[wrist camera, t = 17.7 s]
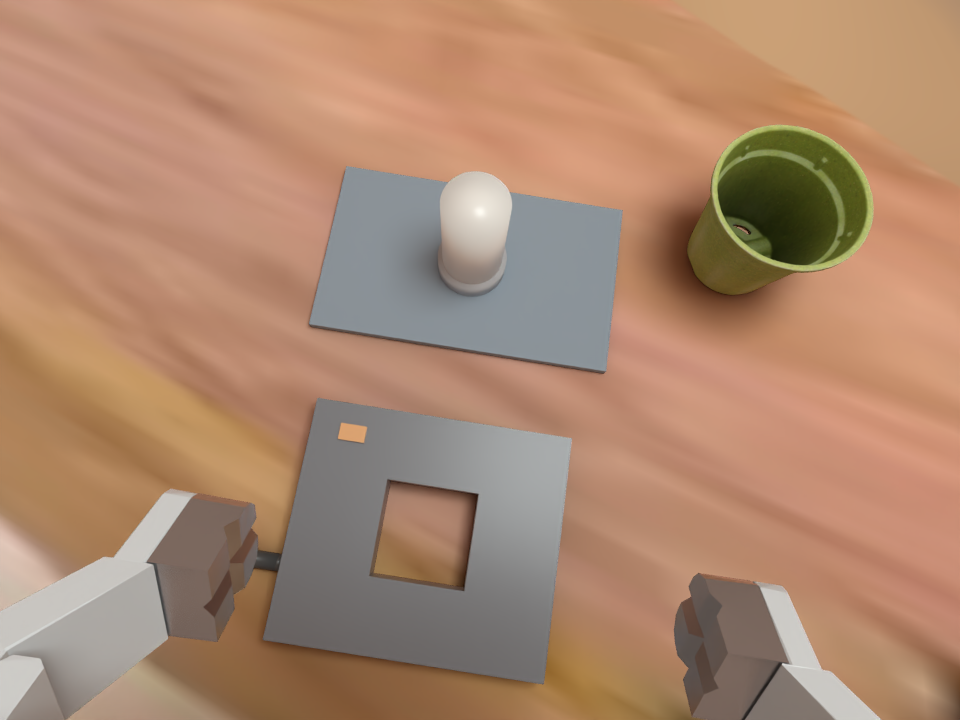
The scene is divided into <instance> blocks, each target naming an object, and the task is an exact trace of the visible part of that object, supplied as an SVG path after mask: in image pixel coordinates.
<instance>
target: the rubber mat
mask: <svg viewBox="0 0 960 720" xmlns="http://www.w3.org/2000/svg"><path fill="white" fill-rule="evenodd" d="M447 183H448V182H442V181H436V180H429V179H423V178H417V177H411V176H404V175H398V174H392V173H386V172H379V171H373V170H367V169H361V168H354V167H348V166H346V171H345V175H344V179H343V183H342V187H341V192H340V196H339V200H338V204H337V208H336V213H335V217H334V221H333V225H332V230H331V234H330V238H329V242H328V246H327V251H326V255H325V259H324V263H323V267H322V272H321V276H320V280H319V284H318V288H317V293H316V297H315V301H314V305H313V309H312V314H311V318H310V322H309V325H310V326H311V327H315V328H322V329H328V330H334V331H341V332H347V333H353V334H359V335H366V336H372V337H378V338H384V339H391V340H397V341H403V342H410V343H416V344H422V345H428V346H435V347H441V348H447V349H454V350H460V351H466V352H472V353H479V354H485V355H491V356H498V357H504V358H510V359H516V360H523V361H529V362H535V363H541V364H548V365H554V366H560V367H567V368H573V369H579V370H585V371H592V372H598V373H605V372H606V367H607V357H608V348H609V338H610V328H611V318H612V309H613V299H614V289H615V279H616V270H617V260H618V250H619V240H620V231H621V221H622V211H623V210H617V209H611V208H605V207H598V206H592V205H586V204H580V203H573V202H567V201H561V200H555V199H548V198H542V197H536V196H530V195H523V194H517V193H511V192H510V195H511V199H512V211H511V216H510V222H509V227H508V232H507V237H506V243H505V249H506V253H507V261H506V266H505V271H504V275H503V278H502V280H501V282H500V283H499V284H498V286H497V287H496V288H495V289H493V290H492V291H490V292H489V293H487V294H484V295H481V296H475V297H469V296H463V295H460V294H458V293H456V292H454V291H452V290H451V289H450V288H448V287H447V286H446V284H445V283H444V282H443V280H442V278H441V276H440V273H439V268H438V250H439V246H440V244H441V242H442V239H441V217H440V197H441V194H442V191H443V189H444V188H445V186H446V185H447Z"/></svg>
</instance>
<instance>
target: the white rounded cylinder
mask: <svg viewBox="0 0 960 720" xmlns="http://www.w3.org/2000/svg"><path fill="white" fill-rule="evenodd" d="M511 211H512V199H511V195H510V192H509V190H508V189H507V187H506V186H505V185H504V183H503V182H502V181H500V180H499V179H498V178H496V177H495V176H493V175H491V174H488V173H485V172H478V171H472V172H466V173H462V174H460V175H458V176H456V177H454V178H453V179H452V180H450V181H449V182H448V183H447V185H446V186H445V188H444V189H443V191H442V194H441V197H440V217H441V239H442V242H441V244H440V246H439V250H438V268H439V273H440V276H441V278H442V280H443V282H444V283H445V284H446V286H447V287H448V288H450V289H451V290H452V291H454V292H456V293H458V294H460V295H463V296H469V297H475V296H481V295H484V294H487V293H489V292H490V291H492V290H493V289H495V288H496V287H497V286H498V284H499V283H500V282H501V280H502V278H503V275H504V271H505V266H506V261H507V253H506V249H505V243H506V237H507V232H508V227H509V222H510V216H511Z"/></svg>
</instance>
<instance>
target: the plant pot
mask: <svg viewBox="0 0 960 720" xmlns="http://www.w3.org/2000/svg"><path fill="white" fill-rule="evenodd" d="M710 191H711V195H710V198H709V200H708V203H707V204H706V206H705V209H704V211H703V213H702V215H701V217H700V219H699V221H698V222H697V224H696V226H695V228H694V230H693V232H692V234H691V236H690V239H689V242H688V247H687V254H688V257H689V259H690V262H691V265H692V268H693V270H694V273H695V275H696V276H697V278H698V279H699V280H700V281H701V282H702V283H703V284H705V285H706V286H707V287H709V288H711V289H712V290H714V291H717V292H719V293H723V294H728V295H738V294H744V293H748V292H751V291H754V290H756V289H758V288H761V287H763V286H765V285H767V284H769V283H771V282H774V281H776V280H778V279H781V278H783V277H785V276H788V275H790V274H792V273H796V272H800V273H804V272H816V271H821V270H825V269H828V268H831V267H833V266H836V265H838V264H840V263H842V262H843V261H845V260H847V259H848V258H849V257H851V256H852V255H853V254H854V253H855V252H856V251H857V250H858V249H859V248H860V247H861V245H862V244H863V243H864V241H865V239H866V237H867V235H868V233H869V231H870V228H871V225H872V220H873V197H872V192H871V190H870V186H869V183H868V180H867V178H866V176H865V174H864V172H863V171H862V169H861V168H860V166H859V165H858V163H857V162H856V161H855V160H854V158H853V157H852V156H851V155H850V154H849V153H848V152H847V151H846V150H845V149H844V148H842V147H841V146H840V145H839V144H837V143H836V142H834V141H833V140H832V139H830V138H828V137H827V136H824V135H822V134H820V133H817V132H815V131H812V130H809V129H806V128H803V127H798V126H789V125H770V126H764V127H761V128H757V129H754V130H752V131H749V132H747V133H745V134H743V135H742V136H740V137H738V138H737V139H735V140H734V141H733V142H732V143H731V144H730V145H729V146H728V147H727V148H726V149H725V150H724V152H723V153H722V155H721V156H720V158H719V160H718V161H717V164H716V166H715V168H714V171H713V175H712V179H711V188H710ZM733 225H740V226H743V227H745V228H746V229H748V230H749V231H750V232H751V234H750V235H748V234H746V233H745V232H743V231H742V230H740V229H738V228H737V227H734V226H733Z"/></svg>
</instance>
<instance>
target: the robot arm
mask: <svg viewBox="0 0 960 720" xmlns="http://www.w3.org/2000/svg"><path fill="white" fill-rule="evenodd" d="M255 520H256V511H255V505H254V504H252V503H248V502H243V501H238V500H232V499H227V498H221V497H216V496H211V495H205V494H200V493H198V494H197V493H192V492H186V491H181V490H175V489H170V490H168V491H166V492H165V493H163V494H162V495H161V496H160V498H159V499H158V500H157V502H156V503H155V504H154V505H153V507H152V508H151V509H150V511H149V512H148V513H147V514H146V516H145V517H144V518H143V520H142V521H141V522H140V523H139V525H138V526H137V527H136V529H135V530H134V531H133V532H132V534H131V535H130V536H129V538H128V539H127V540H126V541H125V543H124V544H123V545H122V547H121V548H120V549H119V550H118V552H117V553H116V554H115V556H114V557H113V558H111V557H103V558H101V559H99V560H97V561H95V562H93V563H91V564H89V565H87V566H86V567H84V568H82V569H80V570H78V571H76V572H74V573H72V574H70V575H68V576H66V577H65V578H63V579H61V580H59V581H57V582H55V583H53V584H51V585H49V586H47V587H45V588H44V589H42V590H40V591H38V592H36V593H34V594H32V595H30V596H28V597H26V598H24V599H23V600H21V601H19V602H17V603H15V604H13V605H11V606H9V607H7V608H5V609H3V610H2V611H0V720H66V719H68V718H69V717H70V716H71V715H73V714H74V713H75V712H76V711H78V710H79V709H80V708H81V707H83V706H84V705H85V704H86V703H88V702H89V701H90V700H92V699H93V698H94V697H95V696H97V695H98V694H99V693H100V692H102V691H103V690H104V689H105V688H107V687H108V686H109V685H110V684H112V683H113V682H114V681H116V680H117V679H118V678H119V677H121V676H122V675H123V674H124V673H126V672H127V671H128V670H129V669H131V668H132V667H133V666H134V665H136V664H137V663H138V662H140V661H141V660H142V659H143V658H145V657H146V656H147V655H148V654H150V653H151V652H152V651H153V650H155V649H156V648H157V647H158V646H160V645H161V644H162V643H163V642H165V641H166V640H167V639H168V636H175V637H183V638H190V639H198V640H206V641H214V642H218V640H219V638H220V636H221V634H222V632H223V630H224V628H225V626H226V624H227V622H228V621H229V619H230V617H231V615H232V613H233V611H234V609H235V608H234V598H233V595H234V594H236V593H237V592H239V591H240V590H242V589H243V588H245V587H246V585H247V583H248V580H249V578H250V576H251V574H252V571H253V568H254V565H255V561H256V558H257V551H258V535H257V534H256V533H255V532H254V531H253V530H252V529H251V527H252V525H253V523H254V521H255ZM689 590H690V593H691V597H690V598H688V599H686V600H685V601H683V602H681V604H680V606H679V609H678V611H677V613H676V618H675V626H674V636H675V645H676V650H677V654H678V656H679V658H680V659H681V660H682V661H683V662H684V663H685V665H686V666H687V667H688V668H689V669H688V671H687V673H686V675H685V677H684V679H683V681H684V686H685V690H686V694H687V698H688V703H689V707H690V711H691V716H692V717H696V718H702V719H707V720H881V719H880V718H879V717H878V716H877V715H876V714H875V713H874V712H873V711H872V710H871V709H870V708H869V707H867V706H866V705H865V704H864V703H863V702H862V701H861V700H860V699H859V698H858V697H857V696H856V695H855V694H854V693H853V692H852V691H851V690H850V689H849V688H848V687H847V686H845V685H844V684H843V683H842V682H841V681H840V680H839V679H838V678H837V677H836V676H835V675H834V674H833V673H832V672H831V671H826V670H822V668H821V666H820V664H819V662H818V660H817V657H816V655H815V653H814V651H813V648H812V646H811V644H810V642H809V639H808V637H807V635H806V633H805V631H804V628H803V626H802V624H801V622H800V619H799V617H798V615H797V613H796V610H795V608H794V606H793V604H792V602H791V599H790V597H789V595H788V593H787V591H786V590H785V589H784V588H783V587H782V586H780V585H774V584H767V583H761V582H751V581H749V580H742V579H735V578H728V577H722V576H715V575H708V574H701V573H698V574H697V575H695V576H694V577H693V579H692V581H691V583H690V585H689Z"/></svg>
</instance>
